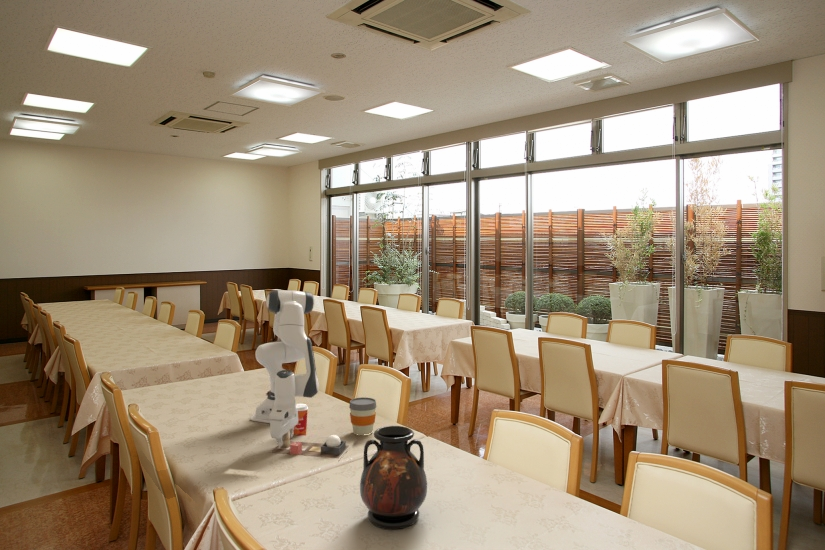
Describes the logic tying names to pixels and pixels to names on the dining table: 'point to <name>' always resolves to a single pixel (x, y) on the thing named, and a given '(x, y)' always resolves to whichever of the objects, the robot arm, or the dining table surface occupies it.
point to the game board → (315, 450)
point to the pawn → (286, 440)
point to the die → (295, 448)
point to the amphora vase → (393, 479)
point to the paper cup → (301, 420)
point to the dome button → (333, 441)
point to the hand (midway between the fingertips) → (285, 441)
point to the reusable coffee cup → (362, 415)
